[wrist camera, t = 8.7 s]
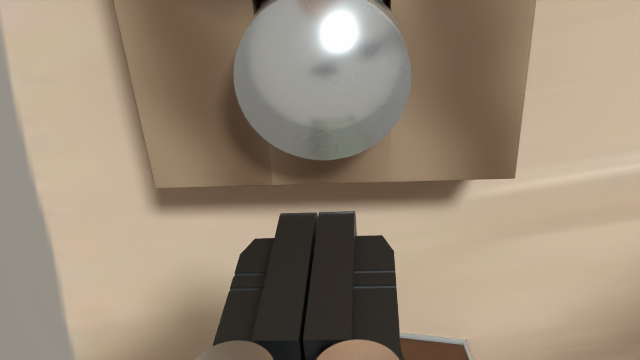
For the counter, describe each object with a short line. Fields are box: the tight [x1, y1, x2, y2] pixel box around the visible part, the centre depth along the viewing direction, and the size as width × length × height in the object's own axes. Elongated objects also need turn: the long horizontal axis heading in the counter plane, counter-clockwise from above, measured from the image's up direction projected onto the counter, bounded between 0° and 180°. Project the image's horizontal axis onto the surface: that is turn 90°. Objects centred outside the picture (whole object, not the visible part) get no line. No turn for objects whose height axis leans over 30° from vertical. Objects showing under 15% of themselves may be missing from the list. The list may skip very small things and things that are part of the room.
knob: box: [233, 0, 411, 160], centre depth 21 cm, size 6×6×5 cm
